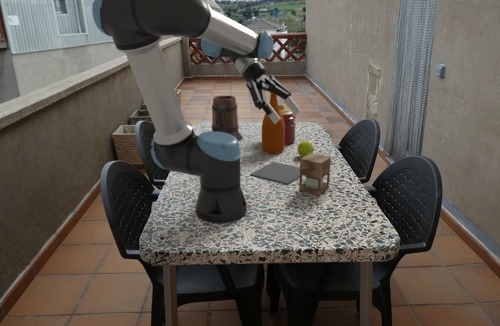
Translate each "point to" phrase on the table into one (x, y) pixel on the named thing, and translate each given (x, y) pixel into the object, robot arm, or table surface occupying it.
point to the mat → (278, 172)
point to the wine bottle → (273, 130)
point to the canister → (288, 124)
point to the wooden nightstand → (315, 171)
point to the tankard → (225, 116)
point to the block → (313, 182)
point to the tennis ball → (305, 148)
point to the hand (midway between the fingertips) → (288, 117)
